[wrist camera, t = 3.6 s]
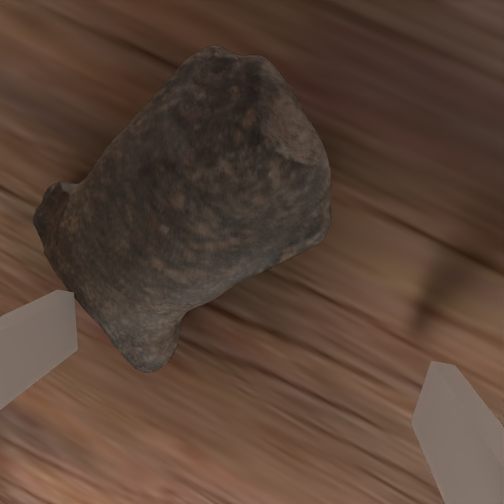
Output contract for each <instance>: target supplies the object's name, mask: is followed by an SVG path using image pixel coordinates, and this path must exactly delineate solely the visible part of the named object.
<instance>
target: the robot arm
mask: <svg viewBox="0 0 504 504" xmlns="http://www.w3.org/2000/svg"><path fill="white" fill-rule="evenodd" d="M77 350H78V341H77V327H76V313H75V299H74V293H73V292H68V291H63V290H56V291H54V292H51V293H49V294H47V295H45V296H43V297H41V298H39V299H36V300H34V301H32V302H30V303H28V304H26V305H24V306H21V307H19V308H17V309H15V310H13V311H11V312H9V313H6V314H4V315H2V316H0V410H1V409H2V408H3V407H5V406H6V405H7V404H9V403H10V402H11V401H12V400H14V399H15V398H16V397H18V396H19V395H20V394H22V393H23V392H24V391H25V390H27V389H28V388H29V387H31V386H32V385H33V384H34V383H36V382H37V381H38V380H40V379H41V378H42V377H43V376H45V375H46V374H47V373H49V372H50V371H51V370H53V369H54V368H55V367H56V366H58V365H59V364H60V363H62V362H63V361H64V360H65V359H67V358H68V357H69V356H71V355H72V354H73V353H74V352H76V351H77ZM411 425H412V428H413V430H414V432H415V435H416V437H417V439H418V442H419V444H420V446H421V449H422V451H423V453H424V456H425V458H426V460H427V463H428V465H429V468H430V470H431V472H432V475H433V477H434V479H435V482H436V484H437V486H438V489H439V491H440V493H441V496H442V498H443V500H444V503H445V504H504V427H503V426H502V424H501V423H500V422H499V421H498V419H497V418H496V417H495V415H494V414H493V413H492V412H491V410H490V409H489V408H488V407H487V405H486V404H485V403H484V401H483V400H482V399H481V398H480V396H479V395H478V394H477V393H476V391H475V390H474V389H473V388H472V386H471V385H470V384H469V382H468V381H467V380H466V379H465V377H464V376H463V375H462V374H461V372H460V371H459V370H458V368H457V367H456V366H455V365H452V364H446V363H441V362H436V361H431V363H430V366H429V369H428V372H427V375H426V378H425V381H424V384H423V387H422V390H421V393H420V396H419V399H418V402H417V405H416V408H415V411H414V414H413V417H412V420H411Z"/></svg>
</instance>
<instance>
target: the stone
mask: <svg viewBox="0 0 504 504" xmlns="http://www.w3.org/2000/svg"><path fill="white" fill-rule="evenodd" d="M331 190H332V181H331V171H330V166H329V162H328V158H327V154H326V151H325V149H324V146H323V144H322V142H321V140H320V138H319V136H318V134H317V132H316V131H315V129H314V127H313V126H312V124H311V123H310V121H309V120H308V119H307V117H306V116H305V115H304V113H303V112H302V110H301V108H300V107H299V104H298V101H297V98H296V96H295V94H294V92H293V91H292V89H291V87H290V86H289V85H288V83H287V82H286V81H285V80H284V78H283V77H282V75H281V74H280V73H279V72H278V71H277V69H276V68H275V67H274V66H273V64H272V63H271V62H270V61H268V60H267V59H266V58H265V57H263V56H261V55H254V54H251V55H247V56H244V55H237V54H234V53H231V52H230V51H228V50H226V49H224V48H223V47H221V46H215V45H213V46H210V47H207V48H204V49H202V50H200V51H198V52H197V53H195V54H194V55H192V56H191V57H189V58H187V59H186V60H185V62H184V63H183V64H182V65H181V66H180V67H179V68H178V69H177V70H176V71H175V72H174V73H173V75H172V76H171V77H170V78H169V79H168V80H167V81H166V82H165V84H164V85H163V86H162V88H161V89H160V90H159V91H158V92H157V93H156V94H155V95H154V96H153V97H152V98H151V99H150V100H149V101H148V103H147V104H146V105H145V106H144V107H143V108H142V109H141V110H140V111H139V112H138V114H137V115H136V116H135V117H134V118H133V120H132V121H131V122H130V123H129V124H128V125H127V126H126V127H125V128H124V129H123V130H122V132H121V133H120V134H119V135H118V136H117V137H116V138H115V139H114V140H113V141H112V142H111V143H110V145H109V146H108V147H107V148H106V150H105V151H104V153H103V154H102V155H101V157H100V158H99V159H98V161H97V162H96V164H95V165H94V167H93V168H92V170H91V172H90V173H89V174H88V176H87V177H86V179H85V180H83V181H82V182H80V183H78V184H74V183H70V182H67V181H61V182H58V183H55V184H53V185H51V186H50V187H49V188H48V189H47V191H46V193H45V195H44V197H43V201H42V204H41V205H40V206H39V207H38V208H37V209H36V211H35V214H34V219H33V223H34V225H35V227H36V229H37V231H38V234H39V236H40V238H41V241H42V243H43V247H44V254H45V256H46V257H47V258H48V260H49V262H50V264H51V266H52V268H53V269H54V271H55V272H56V274H57V275H58V276H59V278H60V279H61V280H62V282H63V283H64V284H65V286H66V287H67V289H68V290H69V291H70V292H73V293H74V297H75V298H76V300H77V301H78V302H79V303H80V305H81V306H82V307H83V308H84V310H85V311H86V312H87V313H88V314H89V315H90V316H91V317H92V318H93V319H94V320H95V321H96V322H97V323H98V324H99V325H100V327H101V328H102V329H103V330H104V332H105V333H106V334H107V335H108V336H109V338H110V340H111V342H112V343H113V344H114V346H115V347H116V348H117V349H118V350H119V352H120V353H121V354H122V355H123V357H124V358H125V359H126V360H127V361H128V362H129V363H130V364H131V365H132V366H133V367H134V368H135V369H137V370H140V371H142V372H144V373H150V372H154V371H157V370H159V369H160V368H162V367H163V366H165V365H166V364H167V363H168V362H169V360H170V359H171V358H172V356H173V354H174V352H175V350H176V348H177V346H178V342H179V337H180V331H181V319H182V318H183V316H184V315H185V314H186V313H187V312H188V311H189V310H192V309H194V308H196V307H198V306H201V305H204V304H206V303H208V302H211V301H212V300H214V299H216V298H217V297H218V296H220V295H221V294H223V293H224V292H225V291H227V290H228V289H230V288H231V287H233V286H234V285H236V284H237V283H239V282H240V281H242V280H244V279H247V278H250V277H252V276H255V275H257V274H260V273H262V272H265V271H267V270H269V269H270V268H272V267H274V266H276V265H278V264H280V263H282V262H284V261H286V260H288V259H290V258H292V257H294V256H296V255H298V254H300V253H301V252H303V251H305V250H307V249H309V248H311V247H313V246H315V245H317V244H319V243H320V242H321V241H322V240H323V239H324V237H325V235H326V233H327V231H328V229H329V226H330V222H331Z"/></svg>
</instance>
